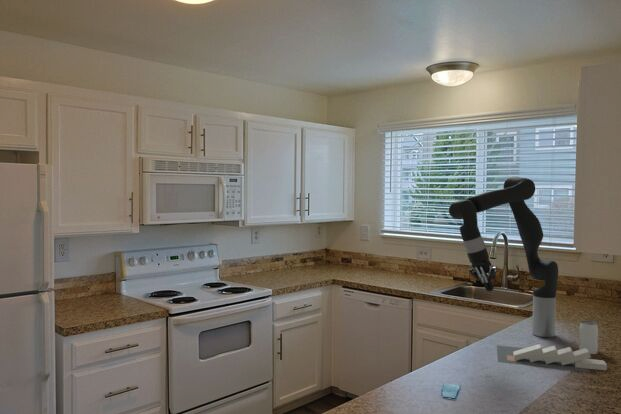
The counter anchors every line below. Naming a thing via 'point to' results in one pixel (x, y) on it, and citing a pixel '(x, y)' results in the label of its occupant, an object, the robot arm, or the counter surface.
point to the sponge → (450, 390)
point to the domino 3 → (560, 355)
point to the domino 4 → (576, 356)
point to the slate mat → (507, 356)
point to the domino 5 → (591, 364)
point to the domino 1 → (528, 352)
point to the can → (588, 336)
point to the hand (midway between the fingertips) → (490, 290)
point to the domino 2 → (544, 354)
